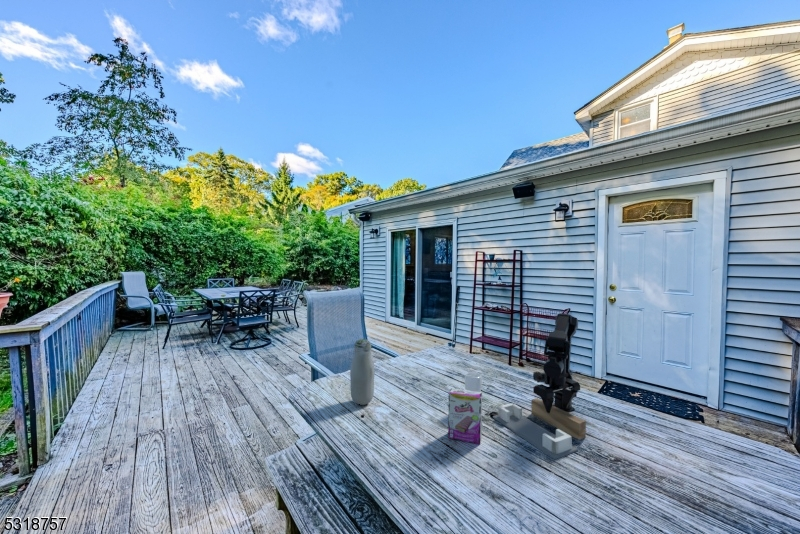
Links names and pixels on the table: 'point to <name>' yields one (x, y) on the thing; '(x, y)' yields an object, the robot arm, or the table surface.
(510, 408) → the end cap frame
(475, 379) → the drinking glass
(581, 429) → the wooden block
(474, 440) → the candy bar box
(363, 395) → the grey bottle
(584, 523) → the table surface
